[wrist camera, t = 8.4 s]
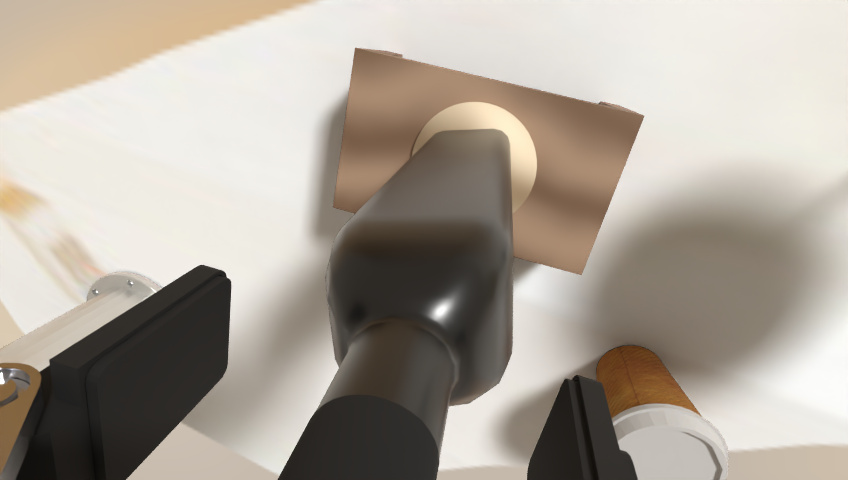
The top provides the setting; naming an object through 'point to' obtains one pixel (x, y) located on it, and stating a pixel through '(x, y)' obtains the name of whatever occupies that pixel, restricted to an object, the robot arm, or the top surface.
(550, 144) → the brown rectangular block
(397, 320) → the wine bottle
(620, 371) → the disposable coffee cup
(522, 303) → the top surface
